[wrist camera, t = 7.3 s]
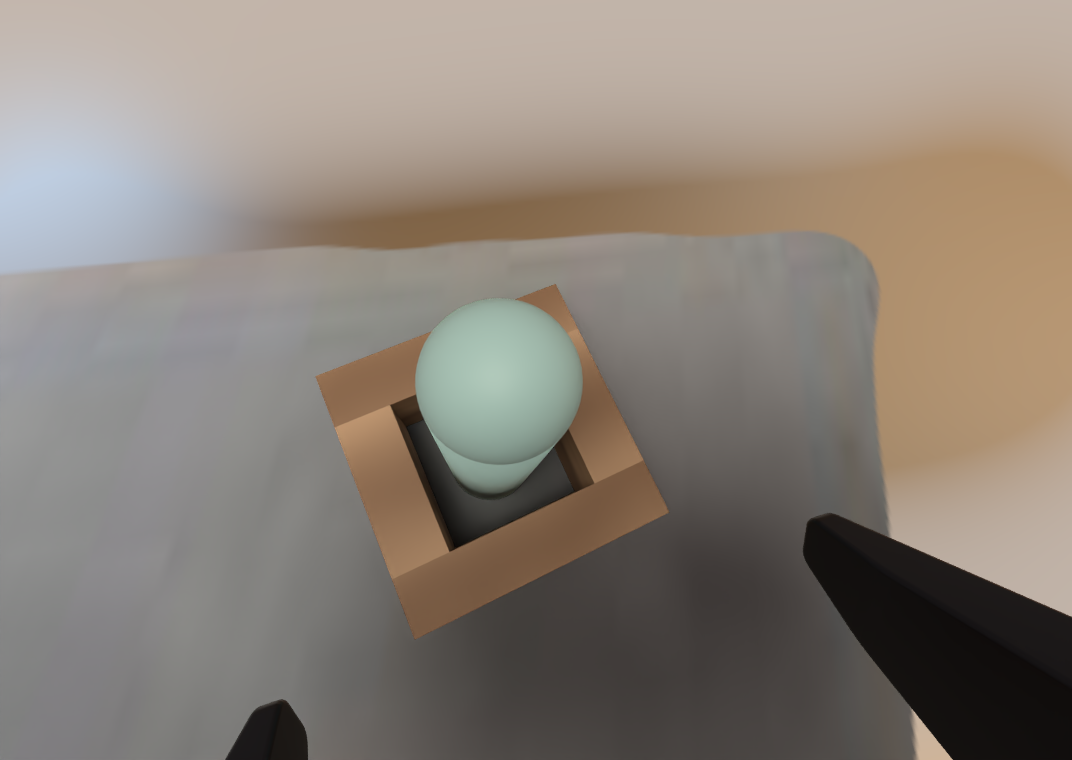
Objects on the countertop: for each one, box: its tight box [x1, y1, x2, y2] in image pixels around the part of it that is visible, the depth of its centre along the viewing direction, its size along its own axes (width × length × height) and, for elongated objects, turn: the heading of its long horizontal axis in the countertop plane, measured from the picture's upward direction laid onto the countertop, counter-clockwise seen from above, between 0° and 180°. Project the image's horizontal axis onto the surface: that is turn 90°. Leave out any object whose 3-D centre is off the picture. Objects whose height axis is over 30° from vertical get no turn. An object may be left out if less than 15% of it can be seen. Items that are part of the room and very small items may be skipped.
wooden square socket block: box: [316, 284, 669, 639], centre depth 20 cm, size 9×9×4 cm
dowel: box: [415, 298, 583, 500], centre depth 15 cm, size 3×3×14 cm
